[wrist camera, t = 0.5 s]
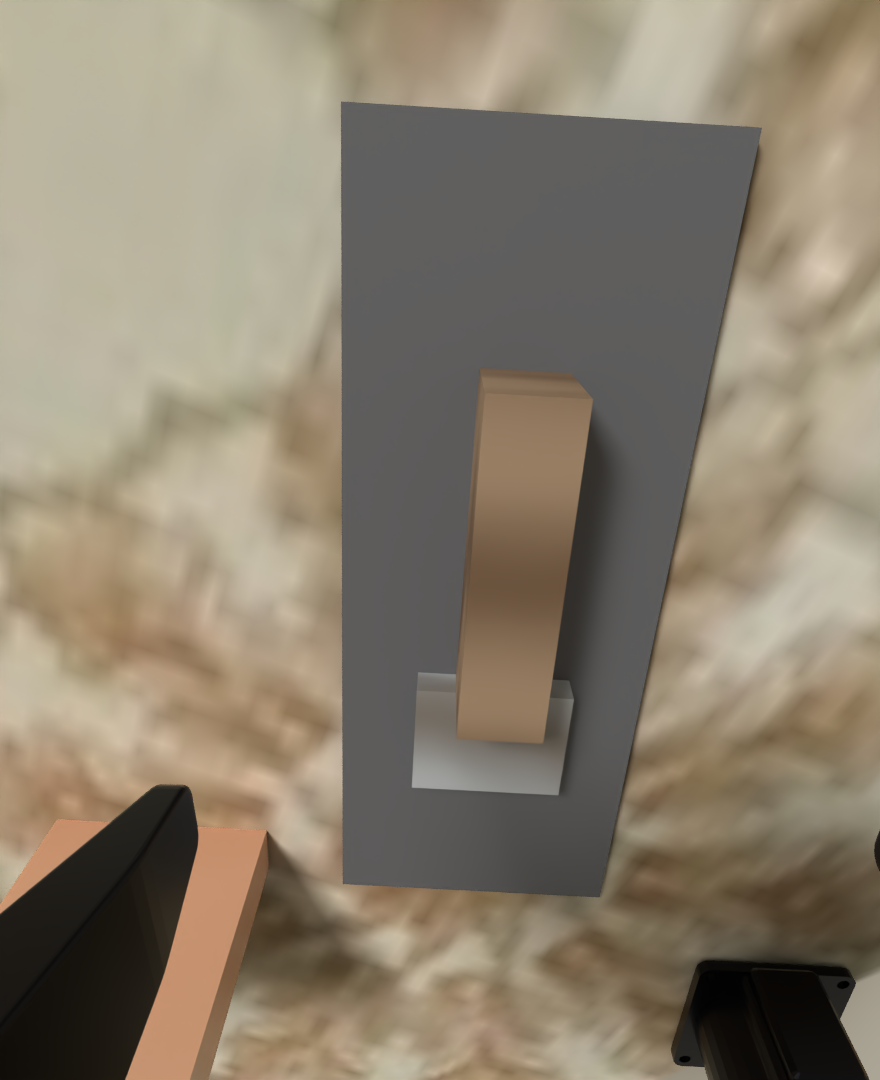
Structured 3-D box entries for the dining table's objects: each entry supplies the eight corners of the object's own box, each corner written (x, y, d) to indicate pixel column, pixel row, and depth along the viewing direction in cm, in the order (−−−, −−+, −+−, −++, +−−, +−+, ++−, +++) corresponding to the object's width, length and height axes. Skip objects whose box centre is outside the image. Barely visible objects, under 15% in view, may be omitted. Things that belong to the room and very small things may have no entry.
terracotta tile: (269, 873, 28) (192, 1145, 19) (67, 862, 28) (-97, 1131, 19) (266, 830, 27) (184, 1097, 18) (57, 819, 27) (-119, 1082, 18)
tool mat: (597, 886, 28) (599, 897, 27) (344, 872, 28) (342, 883, 27) (753, 130, 17) (761, 127, 17) (344, 105, 17) (341, 101, 16)
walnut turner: (554, 774, 25) (568, 847, 22) (413, 766, 25) (408, 839, 22) (616, 375, 19) (647, 402, 16) (433, 365, 19) (430, 389, 16)
